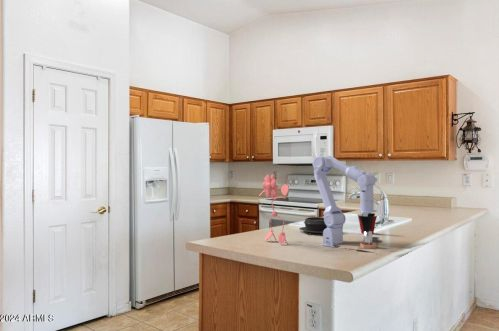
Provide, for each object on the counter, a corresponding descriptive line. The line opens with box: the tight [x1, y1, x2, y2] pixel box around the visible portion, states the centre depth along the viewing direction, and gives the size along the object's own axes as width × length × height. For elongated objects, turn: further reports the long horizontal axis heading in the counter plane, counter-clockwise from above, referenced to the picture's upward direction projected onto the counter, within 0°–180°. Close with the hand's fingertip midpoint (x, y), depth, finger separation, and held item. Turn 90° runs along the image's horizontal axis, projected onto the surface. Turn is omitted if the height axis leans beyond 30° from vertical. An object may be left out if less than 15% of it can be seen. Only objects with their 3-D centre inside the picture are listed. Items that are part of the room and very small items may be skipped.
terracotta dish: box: [359, 242, 376, 250], centre depth 172 cm, size 7×7×2 cm
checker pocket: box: [372, 236, 380, 243], centre depth 186 cm, size 7×7×2 cm
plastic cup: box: [356, 213, 379, 235], centre depth 209 cm, size 11×11×12 cm
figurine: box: [258, 174, 290, 245], centre depth 193 cm, size 15×26×35 cm, turn 32°
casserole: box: [299, 216, 327, 235], centre depth 222 cm, size 25×19×8 cm
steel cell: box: [363, 230, 373, 245], centre depth 172 cm, size 4×4×8 cm
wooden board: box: [357, 239, 382, 254], centre depth 179 cm, size 23×8×2 cm, turn 156°
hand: (367, 230), depth 172 cm, fingers open, 7 cm apart
